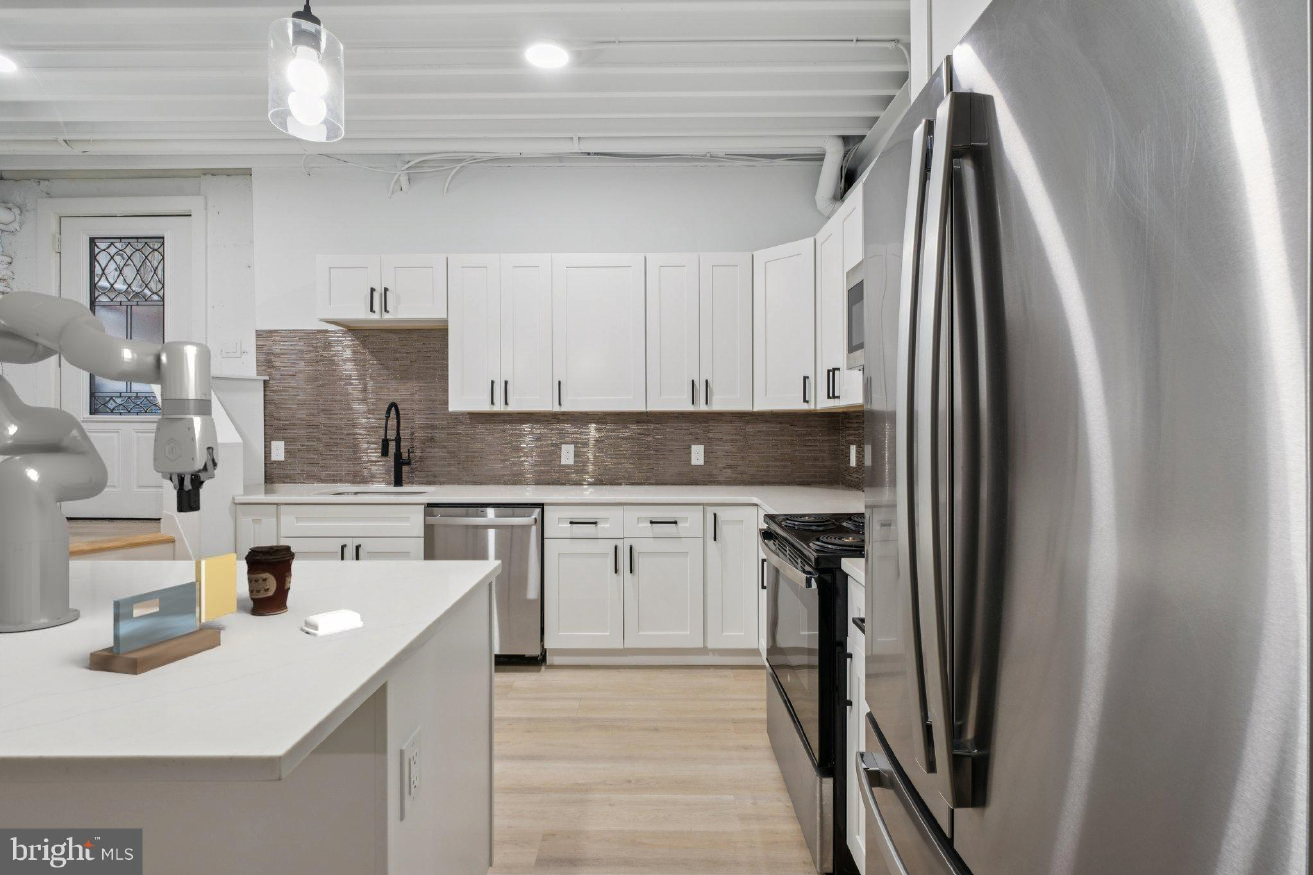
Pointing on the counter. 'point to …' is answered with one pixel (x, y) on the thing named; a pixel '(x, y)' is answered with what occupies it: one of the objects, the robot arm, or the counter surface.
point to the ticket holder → (155, 631)
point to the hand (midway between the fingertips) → (188, 511)
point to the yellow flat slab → (216, 586)
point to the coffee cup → (269, 578)
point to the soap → (332, 622)
